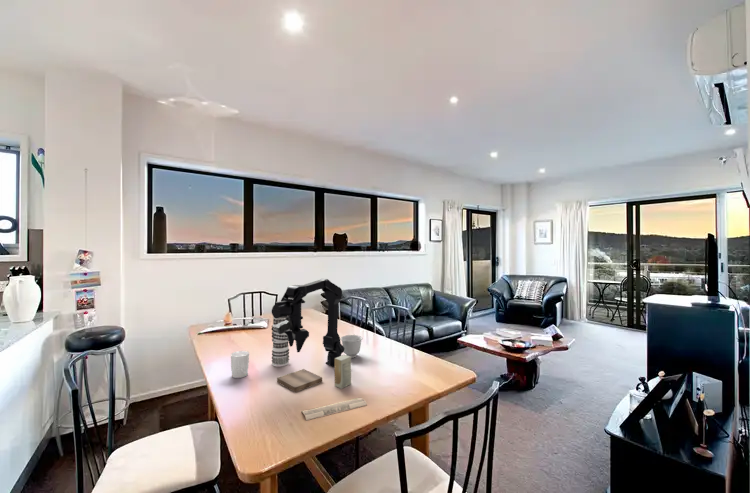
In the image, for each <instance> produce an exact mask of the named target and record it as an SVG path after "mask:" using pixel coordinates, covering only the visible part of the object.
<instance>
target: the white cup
mask: <svg viewBox="0 0 750 493" xmlns="http://www.w3.org/2000/svg"><path fill="white" fill-rule="evenodd" d="M249 364H250V352H249V351H248V350H247V351H246V350H239V351H238V350H237V351H234V352H232V353H230V369H231V377H232V378H234V379H240V378H244V377H247V375H248V374H249V373H248V372H249Z"/></svg>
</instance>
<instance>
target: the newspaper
mask: <svg viewBox="0 0 750 493" xmlns="http://www.w3.org/2000/svg"><path fill="white" fill-rule="evenodd" d="M365 406H368V403H367V401H366V400H365V399H364V398H362V397H357V398H353V399H349V400H344V401H340V402H336V403H332V404H328V405H327V404H326V405H324V406H323V405H322V406H320V407H316V408H311V409H306V410H303V411H302V410H301V413H302V414H303V415H304V416H305V421H310V420H315V419H318V418H323V417H325V416H326V417H327V416H330V415H331V416H332V415H334V414H337V413H341V412H346V411H350V410H353V409H358V408H360V407H365Z"/></svg>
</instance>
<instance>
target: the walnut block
mask: <svg viewBox="0 0 750 493" xmlns="http://www.w3.org/2000/svg"><path fill="white" fill-rule="evenodd" d="M276 382H277V384H280V385H281V386H283V387H285V388H287V389H289V390H291V391H292V392H294V393H297V392H299V391H302V390H304V389H307V388H310V387H313V386H315V385H317V384H318V385H319V384H320V383H323V377H322V376H320V375H318V374H315V373H314V372H311V371H309V370H307V369H305V368H303V369H299V370H297V371H293V372H291V373H287V374H284V375H282V376H278V377H277V378H276Z"/></svg>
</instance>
